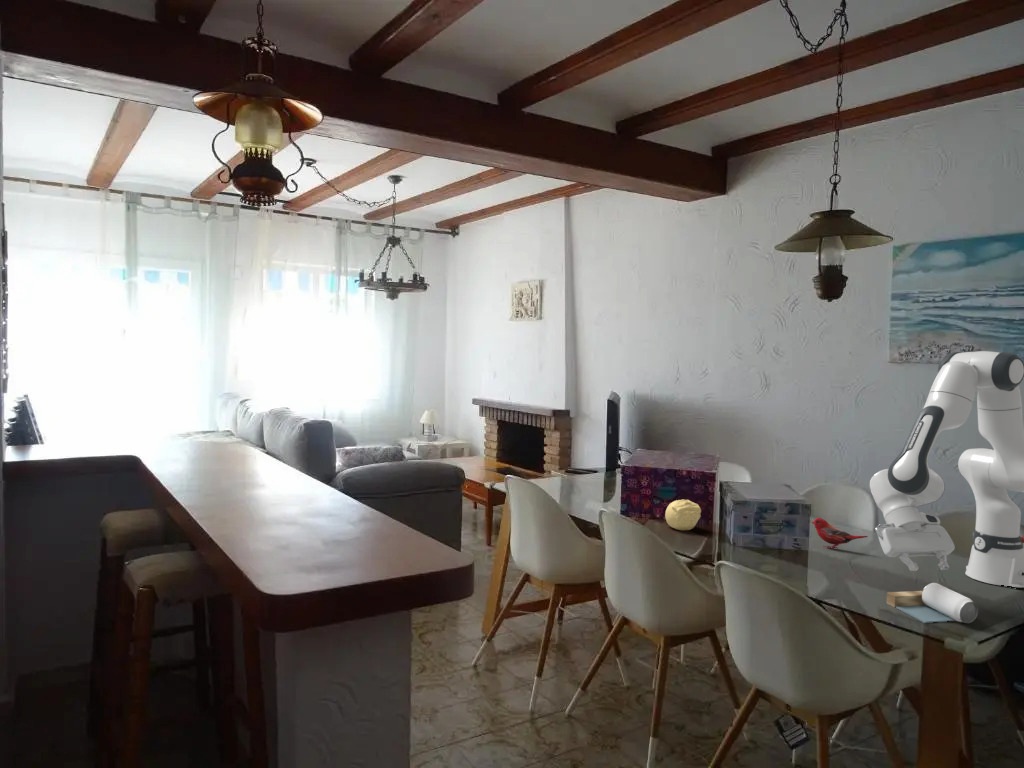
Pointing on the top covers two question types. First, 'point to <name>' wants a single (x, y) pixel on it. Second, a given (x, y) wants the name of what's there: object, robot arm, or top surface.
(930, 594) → the can
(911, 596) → the oak rail
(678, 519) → the pale yellow round lump
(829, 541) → the decorative bird figurine
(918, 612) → the felt mat
